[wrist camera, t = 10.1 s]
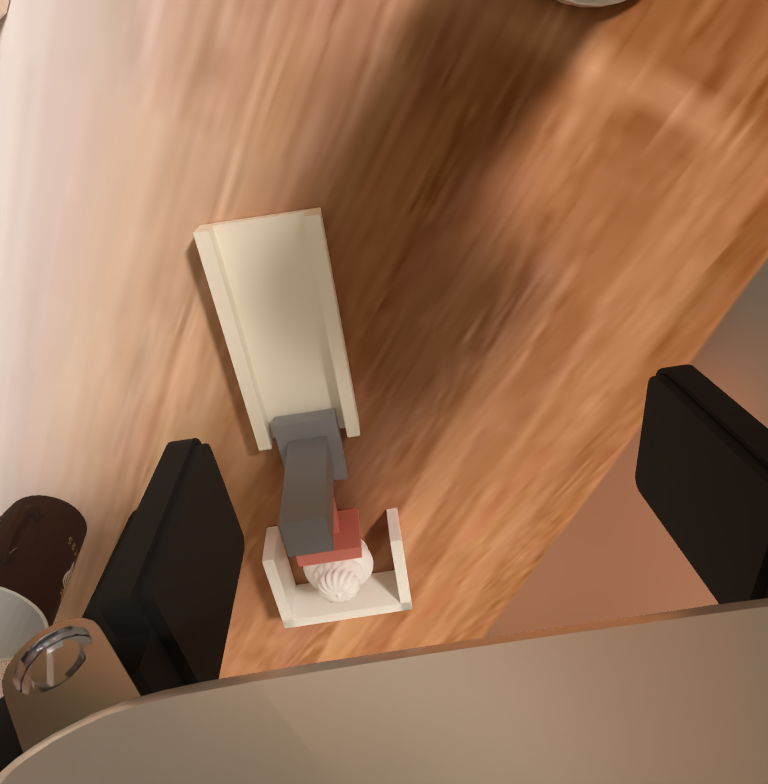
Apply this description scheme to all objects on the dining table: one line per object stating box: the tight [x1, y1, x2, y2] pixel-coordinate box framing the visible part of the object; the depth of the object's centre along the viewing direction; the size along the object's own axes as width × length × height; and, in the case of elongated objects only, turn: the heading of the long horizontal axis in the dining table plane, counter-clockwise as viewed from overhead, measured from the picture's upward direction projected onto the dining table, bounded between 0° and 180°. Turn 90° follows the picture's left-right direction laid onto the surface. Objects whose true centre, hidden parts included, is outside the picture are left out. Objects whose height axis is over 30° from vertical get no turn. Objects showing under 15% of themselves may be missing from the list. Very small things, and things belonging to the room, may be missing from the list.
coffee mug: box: [0, 495, 87, 661], centre depth 42 cm, size 12×9×10 cm
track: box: [193, 207, 360, 451], centre depth 39 cm, size 8×17×2 cm, turn 7°
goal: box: [262, 508, 412, 628], centre depth 50 cm, size 12×9×4 cm
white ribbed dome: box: [303, 539, 373, 604], centre depth 48 cm, size 6×6×7 cm
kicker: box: [273, 408, 362, 567], centre depth 41 cm, size 5×12×10 cm, turn 7°
